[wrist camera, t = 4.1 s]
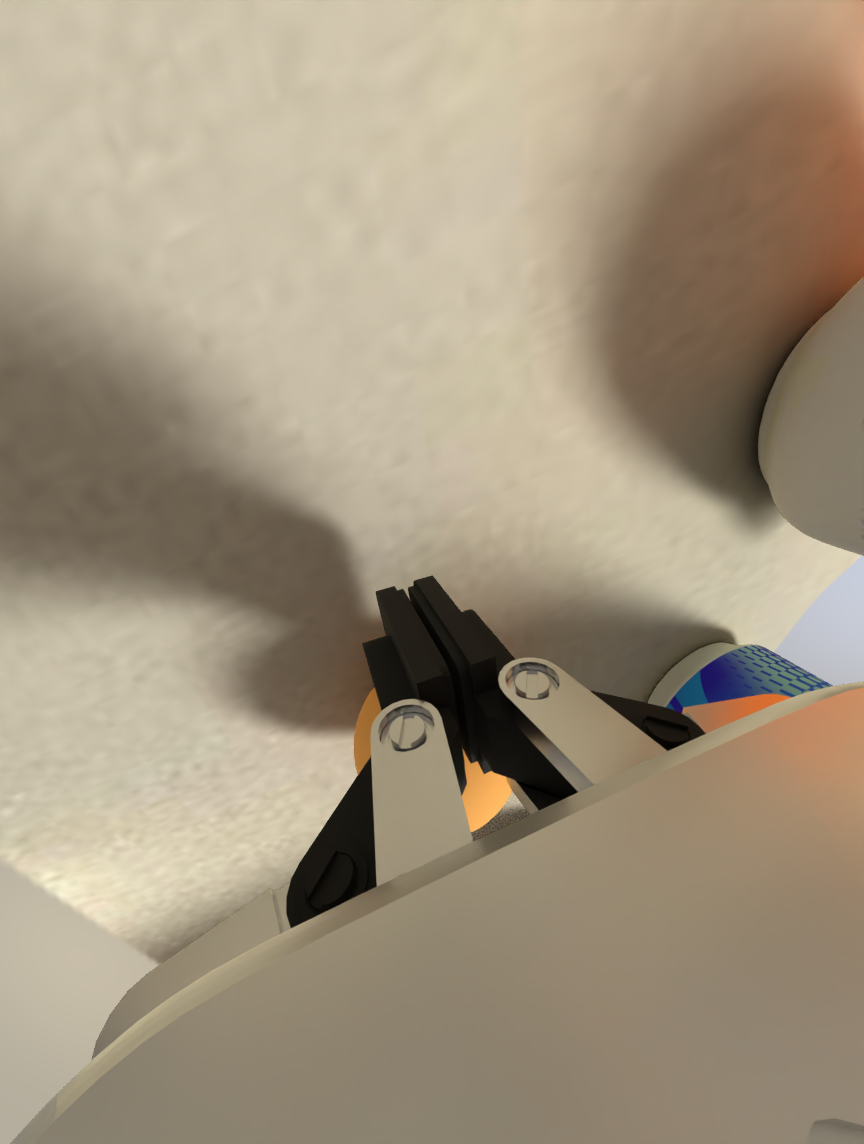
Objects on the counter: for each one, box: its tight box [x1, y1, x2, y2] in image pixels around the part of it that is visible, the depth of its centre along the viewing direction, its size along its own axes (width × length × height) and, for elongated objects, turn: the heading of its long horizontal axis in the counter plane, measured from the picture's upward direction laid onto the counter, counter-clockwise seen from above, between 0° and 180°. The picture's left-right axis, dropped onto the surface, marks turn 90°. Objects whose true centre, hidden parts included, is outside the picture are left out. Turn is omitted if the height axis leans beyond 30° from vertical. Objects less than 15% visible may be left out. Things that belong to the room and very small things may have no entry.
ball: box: [354, 687, 512, 832], centre depth 13 cm, size 6×6×6 cm
